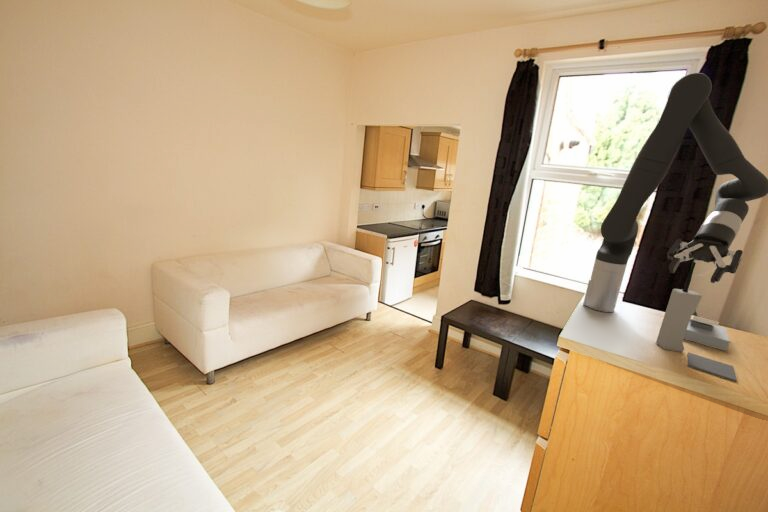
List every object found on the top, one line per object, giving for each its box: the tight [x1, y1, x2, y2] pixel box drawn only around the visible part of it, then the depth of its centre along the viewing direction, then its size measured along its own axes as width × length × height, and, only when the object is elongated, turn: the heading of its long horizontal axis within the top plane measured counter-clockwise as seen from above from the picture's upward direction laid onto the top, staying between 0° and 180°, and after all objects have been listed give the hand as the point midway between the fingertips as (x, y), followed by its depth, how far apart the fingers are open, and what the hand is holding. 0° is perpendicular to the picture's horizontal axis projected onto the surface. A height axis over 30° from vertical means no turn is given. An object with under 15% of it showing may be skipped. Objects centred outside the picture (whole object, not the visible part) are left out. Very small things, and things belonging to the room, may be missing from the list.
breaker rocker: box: [690, 314, 720, 326], centre depth 107 cm, size 6×12×1 cm, turn 140°
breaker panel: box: [683, 319, 730, 352], centre depth 107 cm, size 12×13×4 cm
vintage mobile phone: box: [656, 261, 703, 353], centre depth 95 cm, size 4×5×25 cm
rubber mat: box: [686, 352, 738, 383], centre depth 89 cm, size 9×9×1 cm
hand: (691, 275), depth 92 cm, fingers open, 8 cm apart
